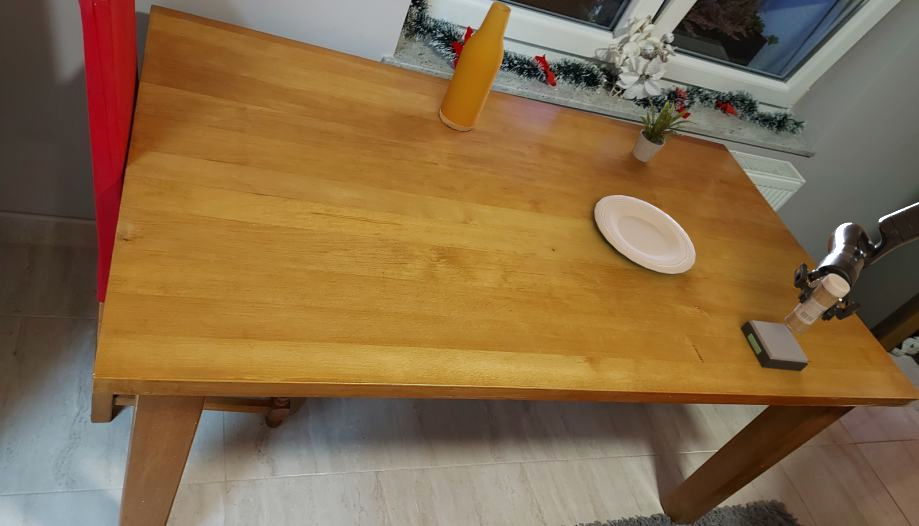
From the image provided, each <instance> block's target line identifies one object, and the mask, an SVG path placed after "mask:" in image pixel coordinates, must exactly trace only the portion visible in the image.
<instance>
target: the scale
mask: <svg viewBox="0 0 919 526" xmlns="http://www.w3.org/2000/svg"><path fill="white" fill-rule="evenodd" d="M740 330H741V332H742V333H743V335H744V338H745V339H746V341H747V343H748V345H749V346H750V348H751V350H752V352H753V353H754V356H755V357H756V359H757V361H758V363H759V364H760V366H761V368H762V369H773V370H784V371H792V372H793V371H794V372H802V371H803V370H805V368H806V367H807V366H808V365H809V363H808V361H809V359H808V357H807V355H806V354H805V352H804V351H803V349H802V347H801V346H800V345H799V342H798V341H797V339H796V338H795V335H794V334H793V332H792V331H790V330H789V329H788V328H787V327H786V325H785V323H777V322H771V321H762V320H761V321H760V320H754V319H752V320H750V321H749V320H747V321H746V322H745V323H744V324H743V325H742V326H741V327H740Z"/></svg>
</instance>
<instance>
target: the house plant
mask: <svg viewBox="0 0 919 526" xmlns="http://www.w3.org/2000/svg"><path fill="white" fill-rule="evenodd" d="M647 98H648V100H649V103H650V107H651V108H650V111H651V117H650V113H649V112H648V111H646V117H644V116H642V115H639V117H640V119H641V120H642V122H643V124H642V126H645V128H642V129H640V132H639V134H638V136H637V139H636V141H635V144H634V146H633V148H634V150H635V152H636V153H637V154H638V155H639V156H638V155H637V154H636V153H635V152H634V150H633V149H632V151H631V154H632V156H634V158H635V159H636V160H638V161H641V162H642V163H643V162H644V163H649V162H650V161H651V160H652V159H653V157H655V156H656V155H657V154H658V152H659V151H660V150H661V149H662V148H663V147H664V146H665V145H666V142H667V141H670V140H671V137H676V136H679V138H681V136H682V137H685V138H686V136H685V135H683V134H681V133H678V132H677V131H675V130H677V129H680V130H682V129H688V130H690V128H689V127H687V126H683V125H682V126H681V125H680V124H686V123H691V124H695V125H697V123H696V122H694V121H692V120H687V119H686V120H680V121H677V120H679V119H680V118H682V117H683V116H685V114H686V113H688V112H689V110H683V111H680V112H678V113H677V114H675V115H674V116H673V115H672V114H673V113H674V107H675V101H673V102H672V104H671V107H670V101H669V99H667V101H666V102H665V104H664V106H663V108H662V110H661V111H660V113H659V114H658V117H657V118H656V120H655V106H654V103H653V101H652V99H651V98H650V97H649V96H647ZM674 126H677V127H674ZM672 127H673V128H672ZM670 128H672V129H670ZM667 134H669V135H667ZM641 157H642V158H641Z"/></svg>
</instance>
